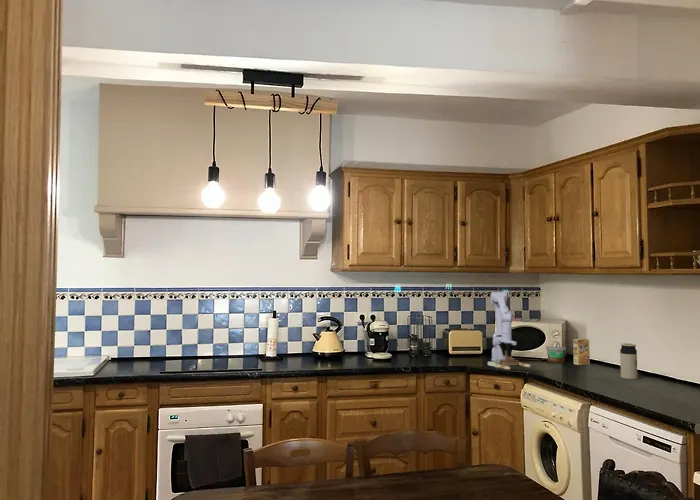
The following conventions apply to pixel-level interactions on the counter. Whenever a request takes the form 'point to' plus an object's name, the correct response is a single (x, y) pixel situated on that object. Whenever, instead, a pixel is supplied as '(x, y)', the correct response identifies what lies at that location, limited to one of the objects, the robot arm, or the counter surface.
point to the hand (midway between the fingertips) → (506, 355)
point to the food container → (556, 354)
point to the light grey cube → (499, 361)
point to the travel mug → (628, 361)
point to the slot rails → (509, 367)
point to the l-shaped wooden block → (509, 361)
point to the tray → (492, 363)
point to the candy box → (581, 351)
